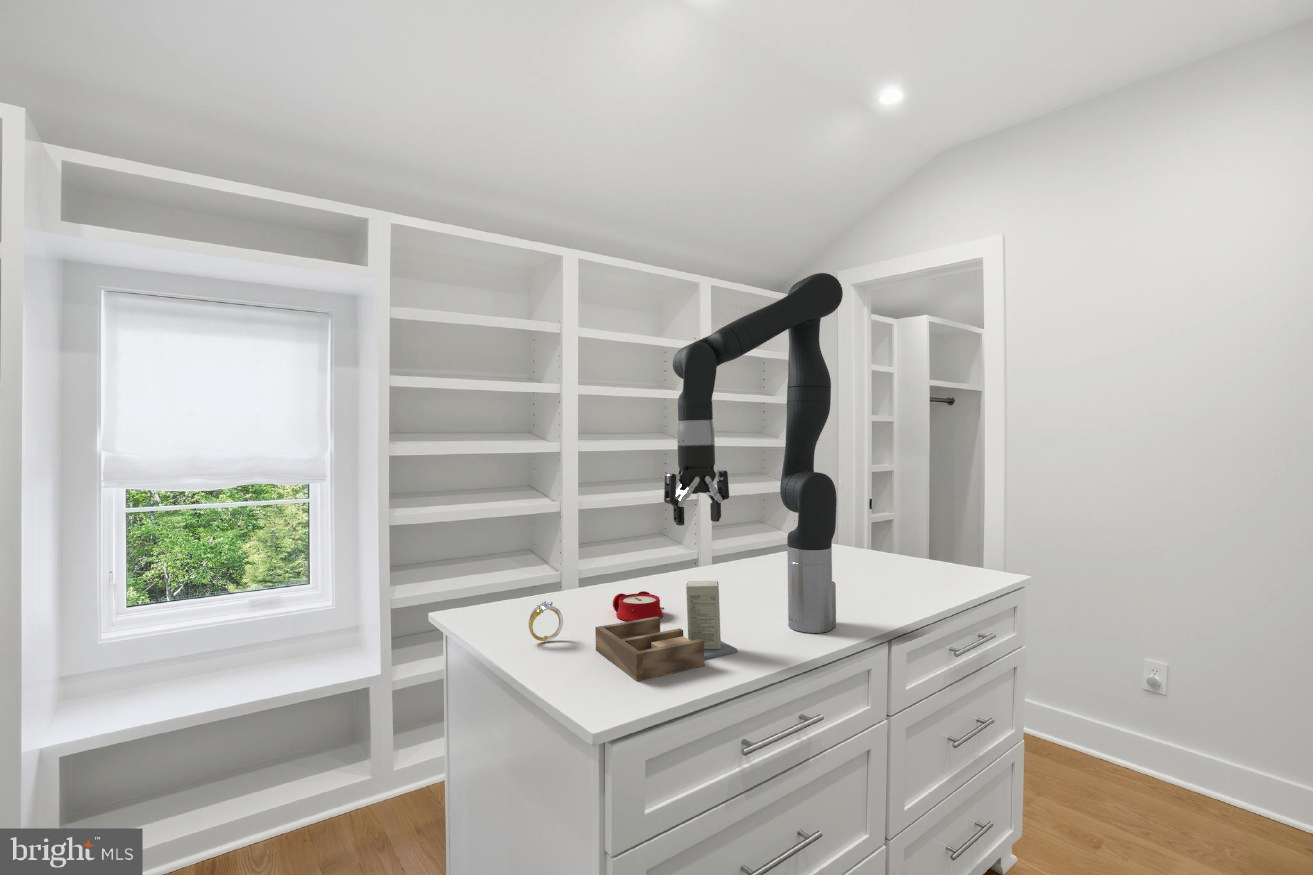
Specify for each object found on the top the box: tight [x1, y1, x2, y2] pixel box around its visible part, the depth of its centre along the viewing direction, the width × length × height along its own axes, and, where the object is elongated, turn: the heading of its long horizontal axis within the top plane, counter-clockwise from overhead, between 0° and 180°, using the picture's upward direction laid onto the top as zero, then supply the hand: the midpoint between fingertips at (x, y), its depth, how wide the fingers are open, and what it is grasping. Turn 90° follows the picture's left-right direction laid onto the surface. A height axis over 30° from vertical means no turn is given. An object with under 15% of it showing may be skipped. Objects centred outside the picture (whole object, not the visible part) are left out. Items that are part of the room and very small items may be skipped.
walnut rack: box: [595, 617, 705, 682], centre depth 114 cm, size 14×17×4 cm
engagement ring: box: [527, 601, 564, 643], centre depth 124 cm, size 7×3×8 cm, turn 110°
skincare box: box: [685, 580, 722, 649], centre depth 119 cm, size 6×4×12 cm
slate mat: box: [704, 640, 738, 660], centre depth 119 cm, size 9×9×1 cm
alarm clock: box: [612, 590, 665, 622], centre depth 143 cm, size 11×6×15 cm
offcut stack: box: [651, 635, 691, 649], centre depth 112 cm, size 8×5×4 cm, turn 119°
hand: (698, 523), depth 124 cm, fingers open, 8 cm apart
